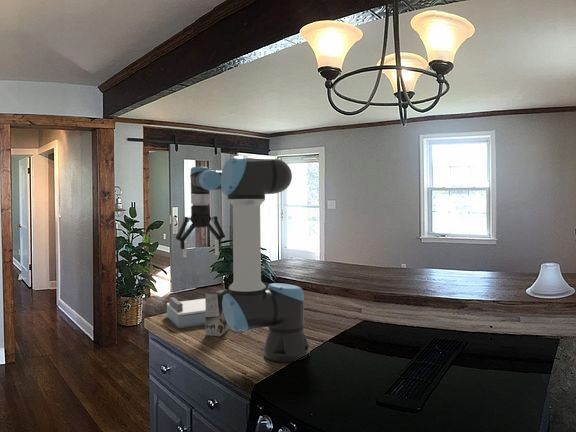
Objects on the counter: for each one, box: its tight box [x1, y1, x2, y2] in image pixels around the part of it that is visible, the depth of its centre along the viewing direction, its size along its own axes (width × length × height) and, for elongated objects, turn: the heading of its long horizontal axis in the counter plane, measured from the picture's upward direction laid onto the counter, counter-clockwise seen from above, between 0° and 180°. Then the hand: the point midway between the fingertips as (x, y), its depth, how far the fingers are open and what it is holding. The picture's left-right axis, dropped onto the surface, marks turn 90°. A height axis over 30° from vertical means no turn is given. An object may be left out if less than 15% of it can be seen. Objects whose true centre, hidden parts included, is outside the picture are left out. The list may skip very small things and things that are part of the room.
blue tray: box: [166, 305, 206, 330], centre depth 187 cm, size 20×20×5 cm
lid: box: [166, 296, 206, 316], centre depth 186 cm, size 20×20×4 cm
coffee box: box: [204, 288, 230, 337], centre depth 168 cm, size 9×6×16 cm
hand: (201, 256), depth 180 cm, fingers open, 13 cm apart
